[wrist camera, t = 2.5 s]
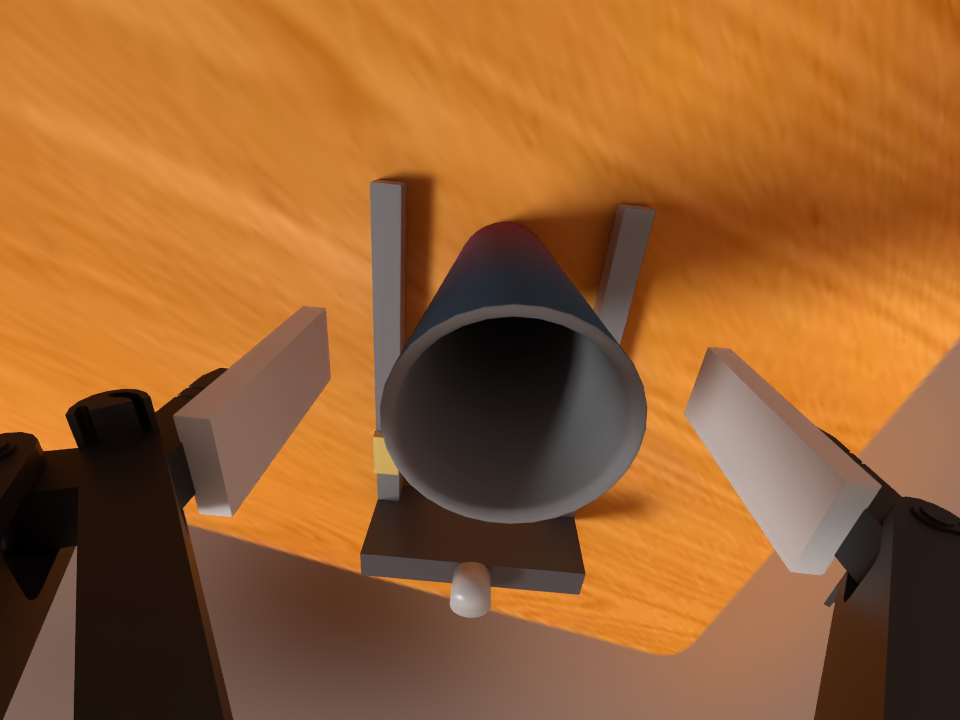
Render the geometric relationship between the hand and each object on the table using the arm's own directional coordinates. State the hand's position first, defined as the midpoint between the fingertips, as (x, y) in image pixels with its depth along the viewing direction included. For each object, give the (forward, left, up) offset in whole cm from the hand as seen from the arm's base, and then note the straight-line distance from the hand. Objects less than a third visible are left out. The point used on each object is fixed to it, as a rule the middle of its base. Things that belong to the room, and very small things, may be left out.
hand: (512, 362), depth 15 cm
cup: (0, 0, -11) cm, 11 cm away
